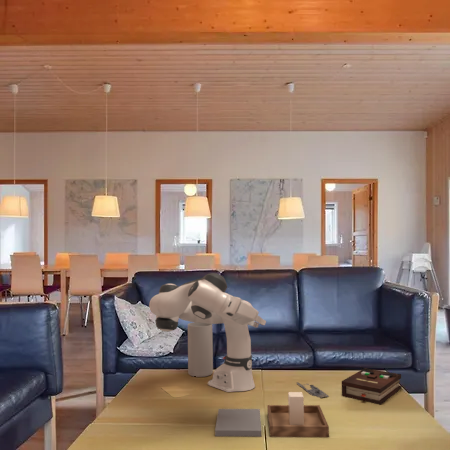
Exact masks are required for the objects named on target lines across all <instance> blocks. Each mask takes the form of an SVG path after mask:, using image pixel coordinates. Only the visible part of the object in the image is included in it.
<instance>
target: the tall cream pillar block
mask: <svg viewBox="0 0 450 450" xmlns="http://www.w3.org/2000/svg"><path fill="white" fill-rule="evenodd" d="M287 394H288V395H287V397H288V398H287V399H288V404H287V405H288V406H289V423H290V425H304V404H305V403H304V402H305V401H304V400H305V399H304V398H305V397H304V394H303V392H302V391H289V392H288V391H287Z"/></svg>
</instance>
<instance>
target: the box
mask: <svg viewBox="0 0 450 450" xmlns="http://www.w3.org/2000/svg"><path fill="white" fill-rule="evenodd" d="M266 406H267V419H268V420H267V422H268V427H269V428H268V429H269V437H271V438H273V437H275V438H276V437H281V438H282V437H283V438H284V437H285V438H286V437H287V438H291V437H292V438H293V437H295V438H301V437H302V438H330V426H329V424H328V421H327V420H326V418H325V414H324V412H323V411H322V408H321V406H320V404H318V405H317V404H316V405H315V404H312V405H311V404H309V405H308V404H306V405H304V425H290V423H289V406H288V404H268V405H266Z"/></svg>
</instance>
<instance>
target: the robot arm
mask: <svg viewBox="0 0 450 450" xmlns="http://www.w3.org/2000/svg"><path fill="white" fill-rule="evenodd" d="M227 288H228V285H227V282H226V279H225V277H224V276H223V275H221V274H219V273H216V272H211V273H208V274H205V275H204V276H203V277H201V278H196V279H194V280H190V281H187V282H185V283H183V284H181V285H180V286H179V285H176V284H175V283H165V284H162V285H161V286H160V287H159V291H158V294H157V293H156V295H154V296H152V297H151V298H150V301H149V306H148V307H149V310H150V311H151V313H152V314H153V315H154V316H155V327H156V328H157V329H158V330H160V331H161V332H165V333H166V332H167V333H168V332H169V333H170V332H173V331H175V330H176V329H177V328H178V325H179V319H180V320H183V321H186V322H189V323H194V322H196V323H209V324H212V325H215V324H216V325H217V324H218V325H219V324H224V325H223V326H224V331H225V336H226V355H225V356H222V360H224V361H223V363H221V365H220V366H218V367H217V368H215V369H214V370H213V373H212V379H210V380H208V381H207V385H208V386H210V387H212V388H216V389H218V390H222V391H223V392H227V393H230V392H231V393H233V392H245V391H250V390H253V389H255V387H256V385H255V381H254V377H253V369H252V368H253V367H252V366H253V356H252V346H251V345H252V343H251V342H252V341H251V339H252V338H251V336H250V332H249V326H250V327H253V328H259V325H261V326H266V323H267V320H266V319H263V318H262V317H261V316H260V315H259V314H260V313H259V312H260V311H258V309H256V308H254V307H253V305H252V303H251V302H250V301H247V300H244V299H242V298H241V297H238V296H233V295H231V294H229V293H227V292H226V291H227Z"/></svg>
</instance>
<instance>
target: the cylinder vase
mask: <svg viewBox="0 0 450 450" xmlns="http://www.w3.org/2000/svg"><path fill="white" fill-rule="evenodd" d="M213 342H214V341H213V324H209V323H196V322H189V323H187V369H188V371H187V372H188V373H187V374H188V375H189V376H191V377H194V376H196V377H195V378H203V377H204V378H205V377H209V376H211V375H213V373H214V363H213V362H214V359H213V357H214V355H213V352H214V351H213V348H214V347H213Z"/></svg>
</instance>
